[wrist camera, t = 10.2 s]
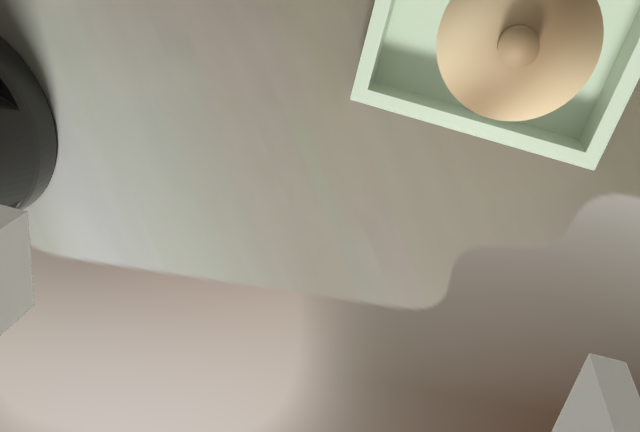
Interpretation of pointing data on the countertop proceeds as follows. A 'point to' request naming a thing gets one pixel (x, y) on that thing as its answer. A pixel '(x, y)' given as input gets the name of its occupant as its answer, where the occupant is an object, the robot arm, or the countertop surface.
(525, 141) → the tray
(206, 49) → the countertop surface
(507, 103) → the lid
